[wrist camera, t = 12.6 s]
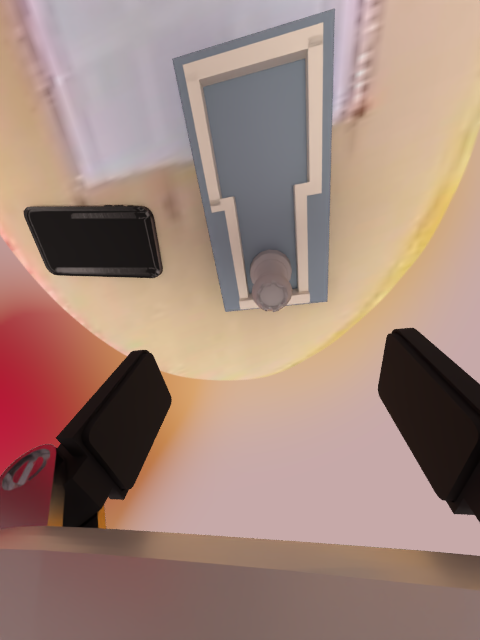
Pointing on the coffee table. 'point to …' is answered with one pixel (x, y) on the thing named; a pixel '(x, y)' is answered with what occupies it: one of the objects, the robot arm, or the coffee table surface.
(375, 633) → the robot arm
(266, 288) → the rook chess piece
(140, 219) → the phone
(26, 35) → the coffee table surface
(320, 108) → the keyhole board
